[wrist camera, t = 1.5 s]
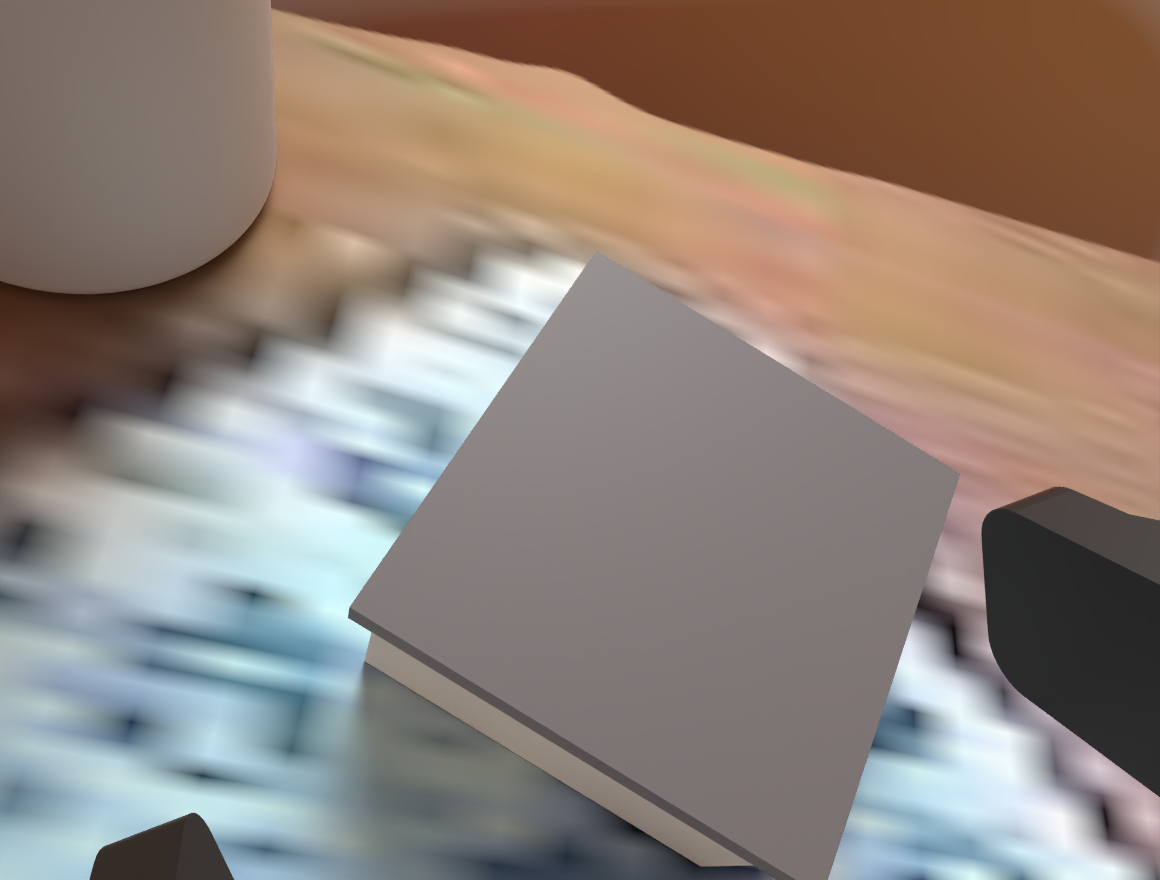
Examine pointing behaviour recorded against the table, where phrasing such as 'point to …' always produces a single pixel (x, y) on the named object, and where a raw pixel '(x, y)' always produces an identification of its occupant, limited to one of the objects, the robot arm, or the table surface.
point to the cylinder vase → (130, 138)
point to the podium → (668, 578)
